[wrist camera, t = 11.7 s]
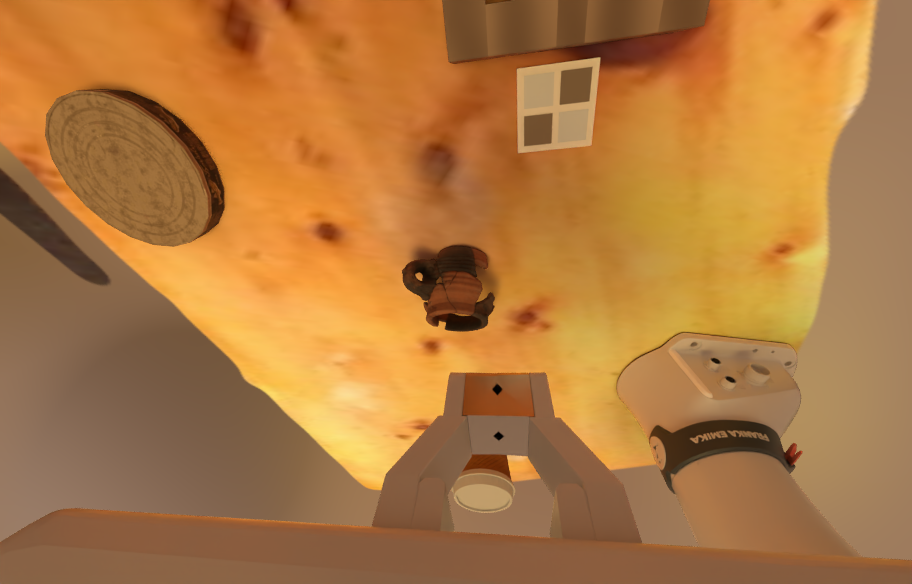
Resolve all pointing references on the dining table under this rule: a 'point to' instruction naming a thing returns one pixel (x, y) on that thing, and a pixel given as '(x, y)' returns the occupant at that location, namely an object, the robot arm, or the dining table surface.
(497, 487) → the disposable coffee cup
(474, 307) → the pottery mug
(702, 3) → the button board
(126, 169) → the brown wooden disc
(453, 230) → the dining table surface
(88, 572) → the robot arm
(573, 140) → the tile
